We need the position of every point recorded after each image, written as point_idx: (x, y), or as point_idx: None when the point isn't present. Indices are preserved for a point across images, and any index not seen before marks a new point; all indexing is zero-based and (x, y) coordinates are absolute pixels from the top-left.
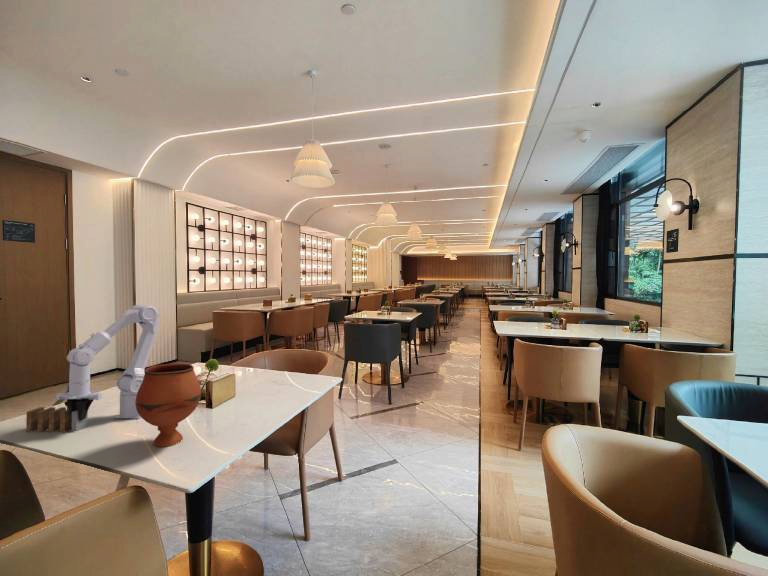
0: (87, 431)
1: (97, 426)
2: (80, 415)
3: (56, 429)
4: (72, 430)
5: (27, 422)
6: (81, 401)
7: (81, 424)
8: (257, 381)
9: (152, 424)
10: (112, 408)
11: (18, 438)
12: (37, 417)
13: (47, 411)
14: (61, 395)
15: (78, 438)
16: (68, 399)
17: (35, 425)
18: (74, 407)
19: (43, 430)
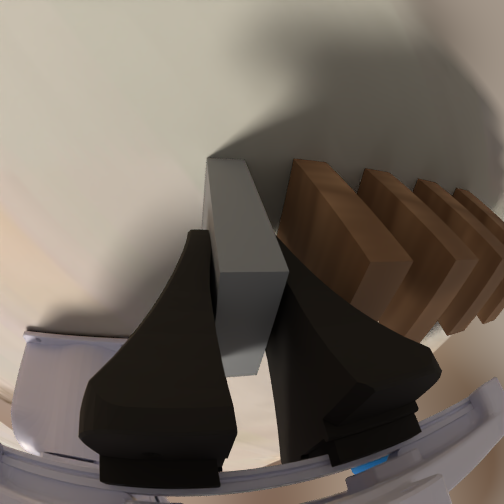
0: (121, 163)
1: (127, 248)
2: (186, 257)
3: (361, 192)
4: (237, 162)
5: (498, 218)
6: (148, 447)
7: (205, 226)
8: None
9: None
10: (241, 398)
11: (475, 107)
12: None
13: (475, 285)
14: (493, 439)
15: (89, 33)
16: (409, 426)
17: None
18: (296, 344)
19: (418, 188)
